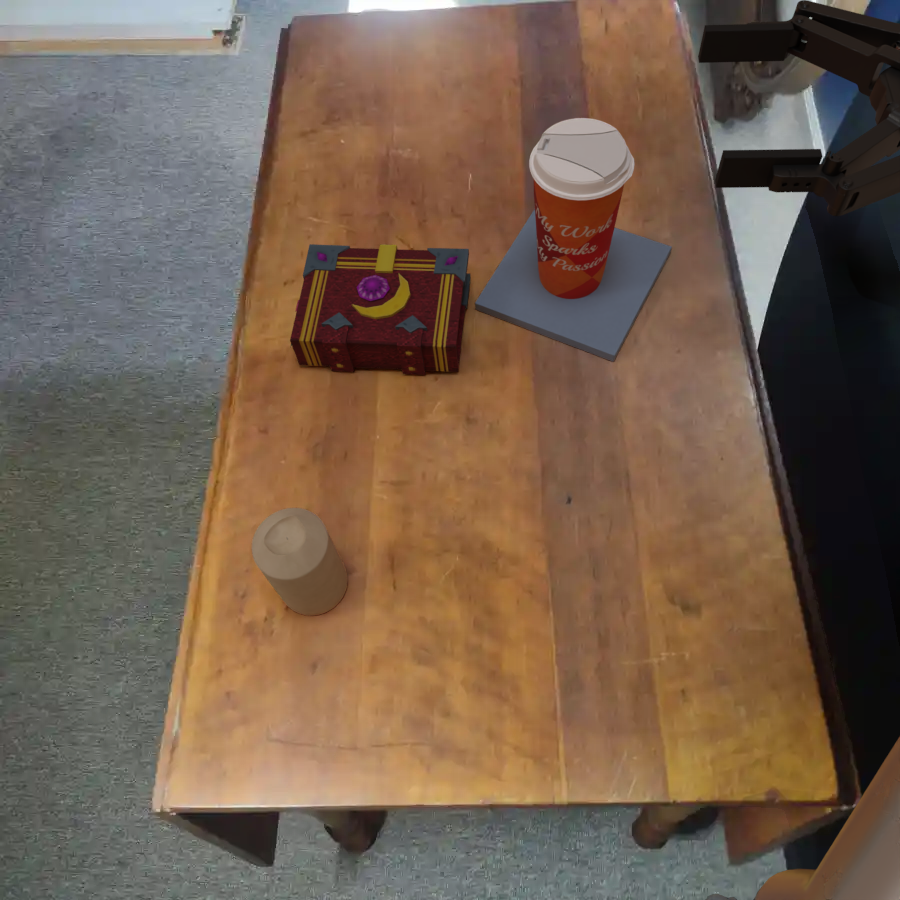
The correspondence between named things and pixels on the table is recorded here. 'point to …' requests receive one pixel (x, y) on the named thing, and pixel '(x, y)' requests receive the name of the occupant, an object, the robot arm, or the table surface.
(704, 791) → the table surface
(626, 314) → the cup mat
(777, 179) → the robot arm
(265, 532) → the candle
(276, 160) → the table surface
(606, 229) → the coffee cup
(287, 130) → the table surface
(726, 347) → the table surface
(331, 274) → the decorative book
